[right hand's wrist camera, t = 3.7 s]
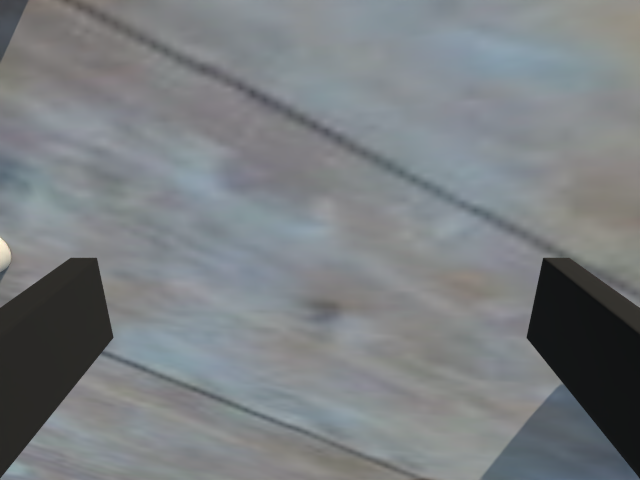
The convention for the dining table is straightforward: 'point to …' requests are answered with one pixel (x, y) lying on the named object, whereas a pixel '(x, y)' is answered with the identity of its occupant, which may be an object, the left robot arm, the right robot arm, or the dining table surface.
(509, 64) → the dining table surface
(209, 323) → the dining table surface
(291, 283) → the dining table surface
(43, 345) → the right robot arm
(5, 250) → the bottle
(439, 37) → the dining table surface
